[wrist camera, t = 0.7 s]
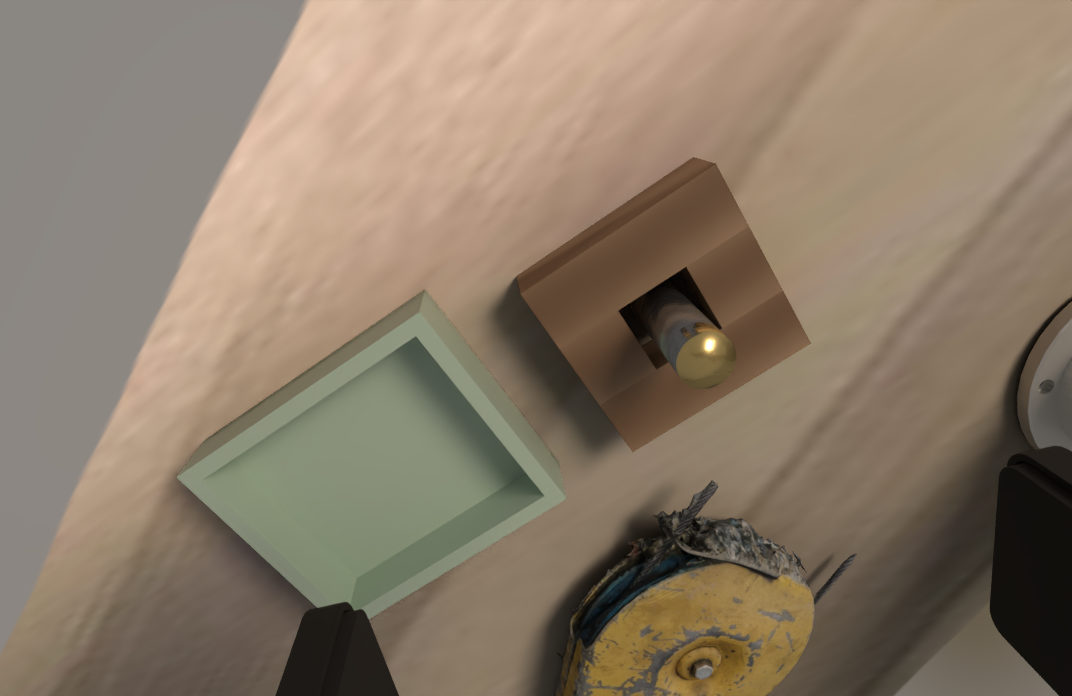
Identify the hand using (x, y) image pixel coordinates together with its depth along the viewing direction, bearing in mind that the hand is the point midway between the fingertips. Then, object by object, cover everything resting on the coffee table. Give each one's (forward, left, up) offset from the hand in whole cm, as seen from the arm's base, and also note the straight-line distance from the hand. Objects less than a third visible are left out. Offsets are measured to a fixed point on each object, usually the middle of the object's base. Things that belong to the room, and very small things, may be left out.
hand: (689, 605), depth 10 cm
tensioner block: (-6, -3, -24) cm, 24 cm away
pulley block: (-26, +11, -24) cm, 37 cm away
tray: (-5, +13, -24) cm, 27 cm away
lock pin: (-6, -3, -24) cm, 24 cm away
